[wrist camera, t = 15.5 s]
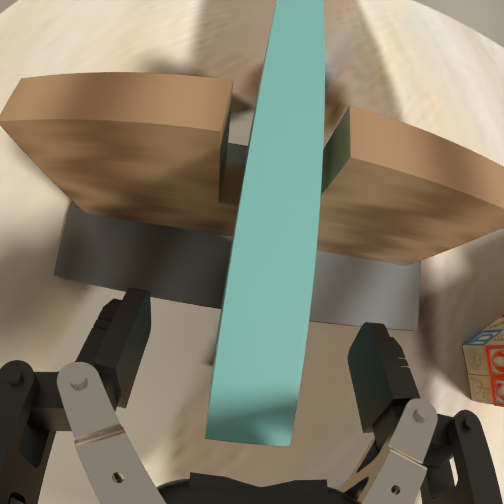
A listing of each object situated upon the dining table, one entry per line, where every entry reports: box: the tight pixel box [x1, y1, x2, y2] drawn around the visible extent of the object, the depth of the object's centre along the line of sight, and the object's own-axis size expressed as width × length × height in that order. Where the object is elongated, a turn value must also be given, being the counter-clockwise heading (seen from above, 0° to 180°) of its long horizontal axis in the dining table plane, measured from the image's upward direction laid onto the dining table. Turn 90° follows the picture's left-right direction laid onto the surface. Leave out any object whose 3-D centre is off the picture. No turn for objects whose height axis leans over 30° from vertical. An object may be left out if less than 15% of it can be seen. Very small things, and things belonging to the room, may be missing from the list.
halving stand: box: [0, 72, 504, 331], centre depth 17 cm, size 27×12×13 cm, turn 82°
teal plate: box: [205, 0, 325, 446], centre depth 16 cm, size 20×2×12 cm, turn 172°
